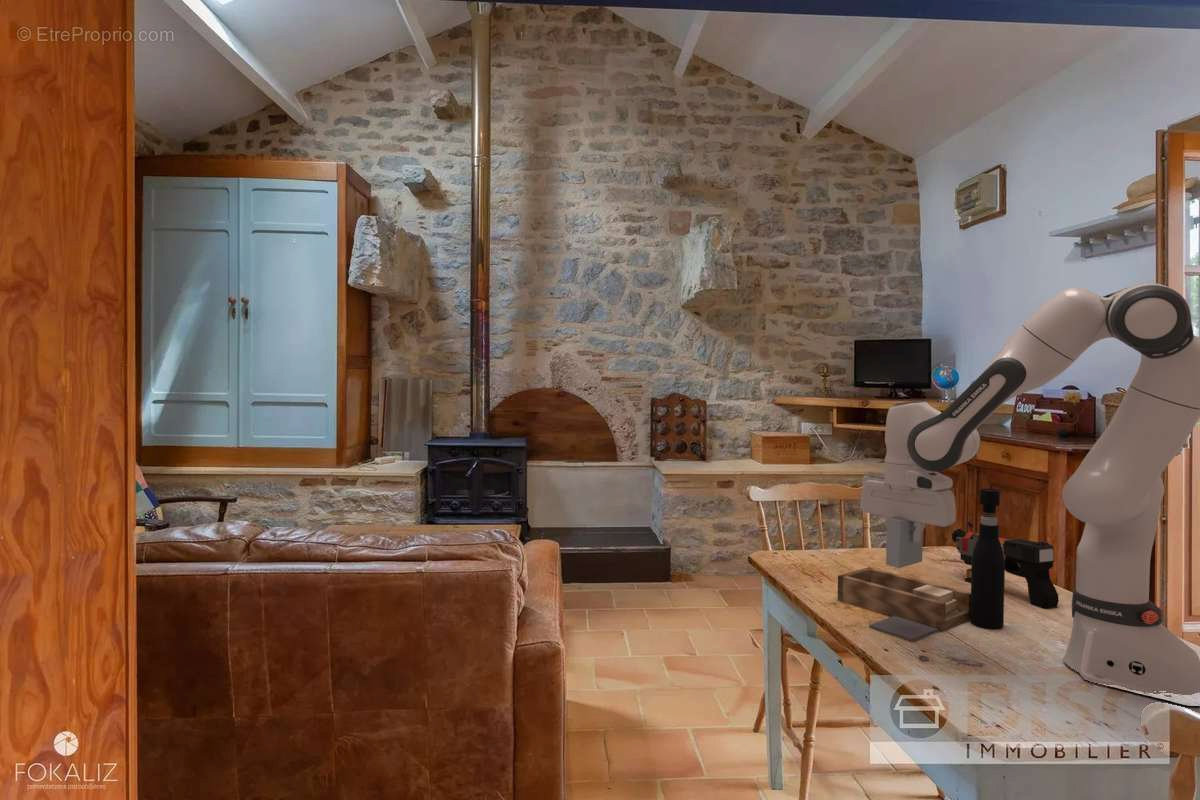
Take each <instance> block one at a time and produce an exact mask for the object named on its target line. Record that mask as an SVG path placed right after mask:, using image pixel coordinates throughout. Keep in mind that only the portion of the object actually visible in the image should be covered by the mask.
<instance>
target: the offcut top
mask: <svg viewBox="0 0 1200 800" xmlns="http://www.w3.org/2000/svg"><path fill="white" fill-rule="evenodd" d="M913 594H915V595H919V596H922V597H926V598H930V599H933V600H937V601H941V602H945V603H947V602H949V601H952V600H953V591H949V590H946V589H942V588H938V587H934V586H931V585H925V586H922V587H919V588H916V589H913Z"/></svg>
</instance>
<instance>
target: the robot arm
mask: <svg viewBox="0 0 1200 800" xmlns="http://www.w3.org/2000/svg"><path fill="white" fill-rule="evenodd" d="M1025 320H1026V321H1024V322H1023V324H1021V326H1020V327H1019V328H1018V329H1017V330H1016V331H1015V332H1014V333H1013V334H1012V336H1011V337H1010V338H1009V339H1008V340H1007V342H1006V343H1005V344H1004V345H1003V347H1002V348H1001V349H1000V350H999V352H998V354H996V356H995V357H994V358H993V360H992V361H990V363H989V364H988V366H986V368H985V370H984V371H982V373H981V374H980V375H979V376H978V377H977V378H976V379H975V380H974V381H973V382H972V383H971V384H970V385H969V386H968V387H967V388H966V389H965V390H964V391H963V392H961V394H959V396H957V398H956V399H954V401H953V402H952V403H950V404H949V406H947V407H946V409H945V410H943V411H942V412H941V411H940V410H938V409H936V408H934V407H933V406H931V405H930V404H929V403H928V402H927V401H923V400H913V401H905V402H899V403H895V404H893V405H892V406H891V407H889V409H888V412H887V414H886V419H885V420H886V422H885V428H884V429H885V432H884V433H885V434H884V443H885V447H886V453H885V458H884V465H883V466H884V467H883V469H884V470H883V472H876V471H868V472H867V473H865V474H864V475H863V477H862V489H861V494H860V502H859V506H860V509H861V510H862V512H863V513H865V514H871V515H877V516H882V517H885V518H884V519H885V520H884V522H885V523H886V524H887V518H892V517H897V518H902V519H908V520H909V521H914V526H915V527H917V528H916V530H915V531H914V533H910V534H909V537H910V538H909V541H910V542H915V543H918V542H920V534H921V533H922V531H923V532H924V530H925V529H926V527H927V526H926V525H932V526H937V527H943V528H945V527H950V526H952V525H953V524H955V522H956V519H957V507H956V499H955V498H956V497H955V495H954V493H953V491H952V490H951V488H952V487H953V483H954V482H953V479H952V477H949V476H947V475H945V474H943V473H940V472H943V471H946V470H949V469H950V468H951V467H955V466H957V465H961V464H964V463H966V462H968V461H970V460H971V459H973V458H974V457H975V456H976V455H977V454H978V452H979V451H980V449H981V443H982V442H981V441H982V440H981V436H980V432H979V430H978V428H979V426H980V425H982V424H983V423H984V422H985V421H986V420H987V419H988V418H989V417H991V416H992V414H993V413H994V412H995V411H997V409H999V408H1000V407H1001V406H1002V405H1004V404H1005V403H1006V402H1008V401H1010V400H1011V399H1013V398H1015V397H1017V396H1019V395H1022V394H1024V393H1027V392H1030V391H1032V390H1036V389H1039V388H1040V387H1043V386H1045V385H1046V384H1049V383H1050V382H1051V381H1053V380H1054V379H1056V377H1058V376H1060V375H1061V374H1062V373H1063V372H1065V371H1066V370H1067V369H1068V368H1069V367H1070V366H1071V365H1072V364H1074V362H1075V361H1076V360H1077V359H1078V358H1079V357H1081V356H1082V355H1083V354H1084V352H1085V351H1086V350H1088V348H1089V347H1091V346H1093V345H1094V344H1095V343H1097V342H1099V341H1101V340H1104V339H1109V338H1114V339H1117V340H1118V341H1120V342H1121V343H1123V344H1125V345H1127V346H1128V347H1130V348H1132V349H1134V350H1135V351H1137V353H1140V356H1141V357H1140V363H1139V367H1138V369H1137V372H1136V374H1135V375H1134V376H1133V379H1132V381H1131V383H1130V385H1129V386H1128V388H1127V390H1126V392H1125V394H1124V396H1123V397H1122V400H1121V402H1120V403H1119V405H1118V407H1117V409H1116V411H1115V413H1114V415H1113V416H1112V418H1111V420H1110V422H1109V424H1108V425H1107V427H1105V430H1104V431H1103V432H1102V433H1101V435H1100V437H1099V438H1098V439H1096V442H1095V443H1094V444H1093V446H1092V447H1091V449H1090V450H1089V451H1088V452H1087V454H1086V456H1085V457H1084V458H1083V460H1082V461H1081V462H1080V465H1079V466H1078V467H1077V468H1076V470H1075V471H1074V472H1073V474H1072V475H1071V476H1070V477H1069V478H1068V479H1067V480H1066V482H1065V484H1064V486H1063V488H1062V501H1063V504H1064V507H1065V508H1066V510H1067V511H1068V512H1069V514H1071V515H1072V516H1073V517H1075V518H1076V519H1077V520H1079V521H1080V522H1083V523H1085V525H1084V527H1083V528H1084V529H1083V532H1082V535H1081V538H1080V541H1079V543H1078V544H1077V547H1076V559H1075V562H1076V563H1075V564H1076V565H1075V588H1073V589H1072V596H1071V613H1072V614H1071V617H1072V618H1073V620H1072V626H1071V633H1070V638H1069V642H1068V645H1067V649H1066V651H1065V653H1064V656H1063V659H1062V660H1064V661H1063V663H1064V662H1065V663H1066V664H1067V665H1068V666H1070V667H1072V668H1073V669H1074V670H1076V671H1078V672H1079V673H1080V675H1081V676H1082V677H1083V678H1084V679H1086V680H1088V681H1091V682H1096V683H1101V684H1106V685H1118V686H1121V687H1125V688H1127V689H1130V690H1136V691H1142V692H1147V693H1153V694H1160V693H1163V692H1159V691H1166V692H1164V693H1173V694H1181V695H1192V694H1195V693H1198V692H1199V693H1200V658H1199V655H1198V653H1196V651H1195V650H1194V649H1193V648H1191V647H1190V646H1189V645H1188V644H1186V643H1185V642H1184V641H1183V640H1181V639H1180V638H1179V637H1178V636H1176V635H1175V634H1174V633H1173V632H1172V631H1171V630H1170V629H1168V628H1167V627H1166V626H1165V625H1163V624H1162V622H1163V621H1162V620H1163V613H1164V612H1165V611H1164V609H1165V607H1164V606H1163V605H1161V606H1160V607H1158V606H1157V605H1156V604H1155V603H1154V602H1152V601H1151V600H1150V596H1149V595H1150V575H1151V574H1150V573H1151V571H1150V570H1151V556H1152V551H1153V546H1154V542H1155V537H1156V532H1157V528H1158V521H1159V517H1160V510H1161V504H1162V500H1163V498H1164V493H1165V484H1164V481H1163V479H1162V477H1161V475H1162V474H1163V472H1164V471H1165V470H1166V468H1167V467H1168V465H1169V464H1170V463H1171V462H1172V460H1174V458H1175V457H1176V456H1177V455H1178V454H1179V453H1180V451H1181V450H1182V449H1183V447H1184V445H1185V444H1186V441H1187V439H1188V438H1189V437H1190V435H1191V433H1192V432H1193V429H1194V428H1195V426H1196V424H1197V422H1198V420H1200V336H1197V335H1195V334H1194V329H1193V323H1192V314H1191V309H1190V307H1189V304H1188V302H1187V301H1186V299H1185V298H1184V297H1183V296H1182V294H1180V293H1179V292H1177V290H1175V289H1173V288H1172V287H1169V286H1167V285H1165V284H1160V283H1155V282H1144V283H1139V284H1134V285H1132V286H1129V287H1126V288H1122V289H1120V290H1117V291H1115V292H1111V293H1109V294H1106V295H1103V296H1100V295H1099V294H1097V293H1095V292H1094V291H1091V290H1090V289H1089V290H1088V289H1086V288H1083V287H1082V288H1081V287H1069V288H1065V289H1064V290H1061V291H1060V292H1058V293H1057V294H1055V295H1054V296H1053V297H1051V298H1050V299H1049V300H1048V301H1046V302H1045V303H1043V305H1041V307H1039V308H1038V309H1037V310H1036V311H1035V312H1033V313H1032V314H1031V315H1030V316H1029V318H1027V319H1025ZM1065 663H1064V664H1065ZM1066 664H1065V665H1066ZM1067 665H1066V666H1067ZM1068 666H1067V667H1068ZM1074 670H1073V671H1074ZM1076 671H1075V672H1076ZM1079 673H1078V674H1079ZM1080 675H1079V676H1080ZM1081 676H1080V677H1081ZM1082 677H1081V678H1082ZM1083 678H1082V679H1083ZM1084 679H1083V680H1084ZM1088 681H1087V682H1088ZM1091 682H1090V683H1091ZM1154 691H1156V692H1154ZM1164 696H1166V697H1172V696H1171V695H1164Z"/></svg>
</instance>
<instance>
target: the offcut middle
mask: <svg viewBox="0 0 1200 800" xmlns="http://www.w3.org/2000/svg"><path fill="white" fill-rule="evenodd" d="M956 611H957V600H955V599H953V600H952V601H949V602H947V603H946V614H945V616H947V615H949V614H951V613H953V612H956Z"/></svg>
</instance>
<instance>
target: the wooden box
mask: <svg viewBox="0 0 1200 800" xmlns="http://www.w3.org/2000/svg"><path fill="white" fill-rule="evenodd" d="M925 585H931V586H934V587H938V588H942V589H946V590H949V591H953V599H955V600H957V610H958V613H956V614H953V615H950V616H948V617H945V614H946V603H945V602H941V601H937V600H933V599H930V598H926V597H922V596H919V595H915V594H913V589H916V588H919V587H922V586H925ZM837 601H839V602H844V603H846V602H847V603H846V604H849V603H850V604H849V605H853V606H856V605H857V606H856V607H859V606H860V608H862V607H863V609H866V610H870V611H873V612H876V613H878V614H882V615H885V616H889V617H893V616H898V617H901V618H904V619H908V620H911V621H914V622H917V623H921V624H924V625H927V626H931V627H934V628H937V629H938V632H944V631H947V630H949V629H951V628H954V627H956V626H959V625H962V624H964V623H966V622H968V621H970V614H971V591H970V592H969V591H965V590H962V589H956V588H953V587H949V586H944V585H942V584H937V583H934V582H933V583H932V582H929V581H925V580H921V579H917V578H915V577H914V578H913V577H911V576H910V577H908V576H905V575H901V574H897V573H895V572H894V573H893V572H890V571H885V570H882V569H877V568H874V567H865V568H862V569H858V570H854V571H851V572H847V573H843V574H839V575H837Z"/></svg>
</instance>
